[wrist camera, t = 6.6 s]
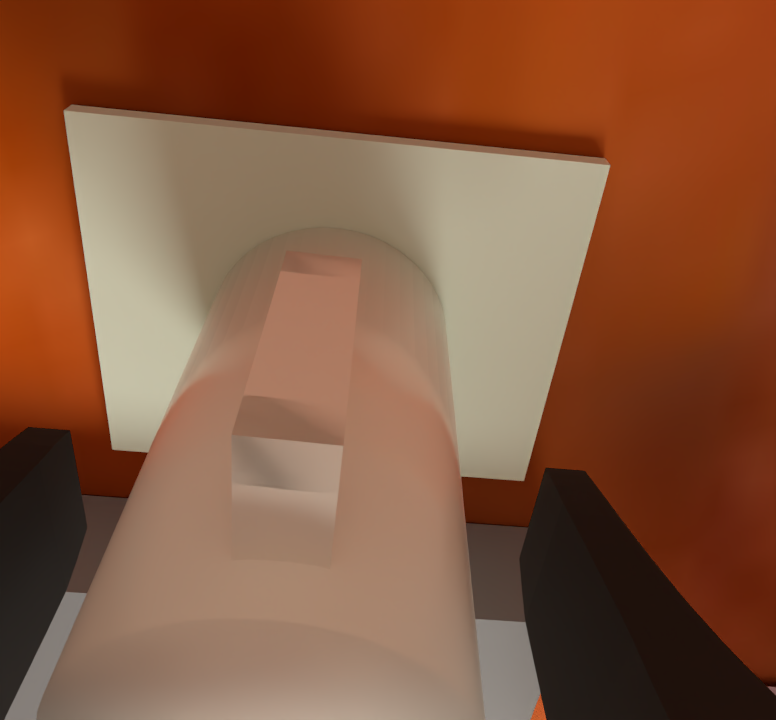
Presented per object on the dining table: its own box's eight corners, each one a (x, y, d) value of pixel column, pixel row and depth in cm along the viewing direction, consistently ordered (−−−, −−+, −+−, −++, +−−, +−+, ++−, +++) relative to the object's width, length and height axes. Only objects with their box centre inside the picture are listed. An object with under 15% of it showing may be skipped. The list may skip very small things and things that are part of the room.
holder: (543, 528, 20) (565, 624, 17) (470, 763, 26) (478, 857, 24) (-73, 483, 19) (-144, 578, 16) (13, 737, 25) (-28, 832, 23)
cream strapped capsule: (423, 459, 18) (440, 894, 10) (214, 438, 17) (73, 870, 10) (479, 164, 14) (578, 524, 6) (208, 130, 13) (-39, 466, 6)
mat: (605, 158, 14) (610, 165, 14) (521, 469, 18) (523, 481, 18) (71, 104, 13) (63, 110, 13) (117, 439, 18) (112, 449, 18)
